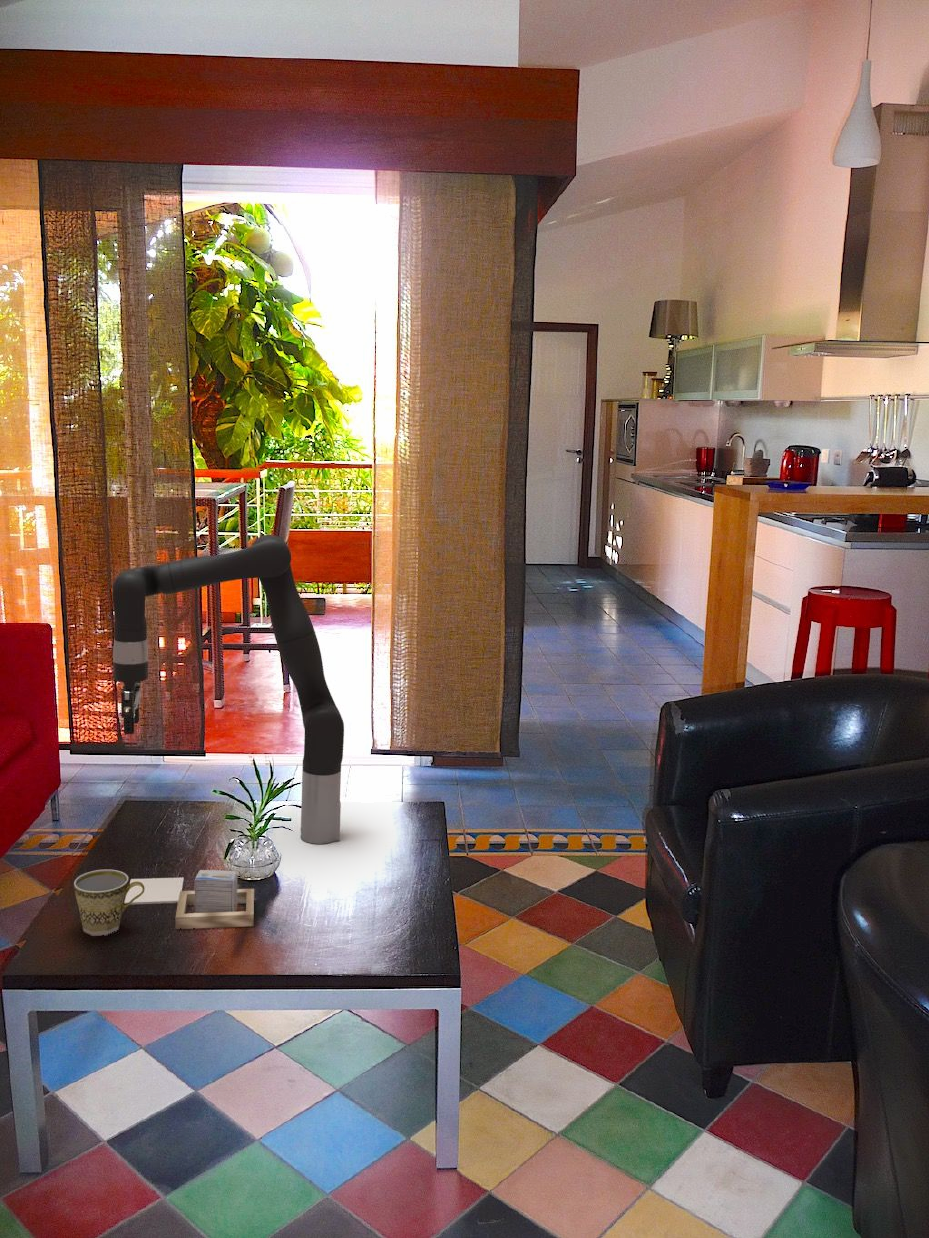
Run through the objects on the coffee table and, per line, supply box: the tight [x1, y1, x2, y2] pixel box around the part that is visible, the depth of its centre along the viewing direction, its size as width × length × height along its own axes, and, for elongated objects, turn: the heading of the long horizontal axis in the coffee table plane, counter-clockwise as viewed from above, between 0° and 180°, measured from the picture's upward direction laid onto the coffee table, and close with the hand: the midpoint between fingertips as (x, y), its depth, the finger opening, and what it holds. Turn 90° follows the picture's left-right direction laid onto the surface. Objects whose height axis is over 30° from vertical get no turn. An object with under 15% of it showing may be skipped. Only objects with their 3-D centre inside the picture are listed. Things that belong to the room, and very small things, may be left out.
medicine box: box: [193, 869, 238, 913], centre depth 205 cm, size 8×4×9 cm, turn 92°
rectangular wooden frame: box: [174, 888, 255, 930], centre depth 206 cm, size 15×12×2 cm
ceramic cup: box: [73, 869, 145, 937], centre depth 197 cm, size 13×10×10 cm
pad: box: [124, 876, 185, 906], centre depth 214 cm, size 11×11×1 cm
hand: (131, 728), depth 231 cm, fingers open, 8 cm apart
